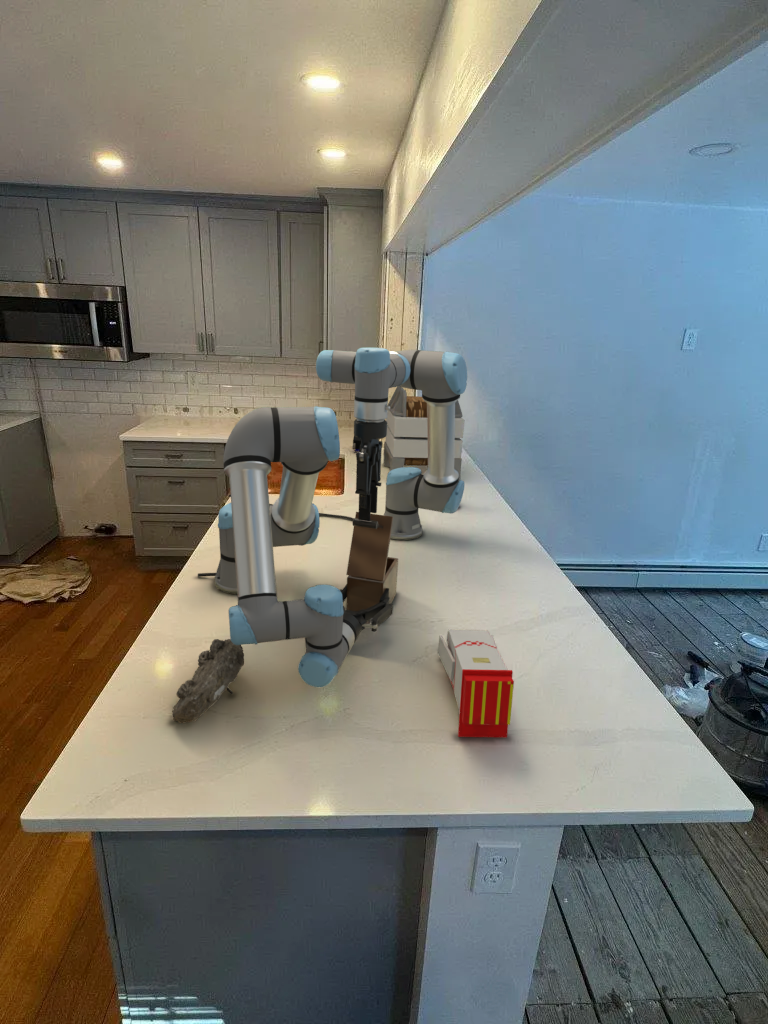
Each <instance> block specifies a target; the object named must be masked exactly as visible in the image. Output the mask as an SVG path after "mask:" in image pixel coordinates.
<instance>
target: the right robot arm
mask: <svg viewBox="0 0 768 1024" xmlns="http://www.w3.org/2000/svg"><path fill="white" fill-rule="evenodd" d="M315 371H316V375H317V377H318V378H319V379H320V380H321V381H322V382H328V383H335V384H336V383H337V384H349V385H354V399H353V400H354V401H353V417H354V421H353V436H354V435H355V436H356V437H358V438H360V439H361V440H362V441H361V445H360V447H359V451H356V453H355V458H356V476H355V491H354V493H355V494H356V495H358V512H359V516H358V520H365V521H370V515H371V514H377V512H378V492H379V491H378V488H379V487H381V486H382V482H381V473H382V472H381V471H382V449H383V445H384V442H383V441H382V440H381V439H385V438H386V435H387V422H386V418H387V410H390V406H387V405H388V403H389V390H390V389H392V388H397V386H399V387H402V388H403V389H409V390H414V391H421V397H422V399H423V400H424V401H425V402H426V403H427V435H428V466H427V469H426V470H424V473H423V474H422V470H421V468H419V467H416V466H404V467H403V468H397V469H393V470H391V471H390V470H389V471H388V473H387V475H386V482H385V504H384V505H385V507H384V508H385V509H384V513H383V515H385V516H392V517H393V524H392V531H391V538H390V540H395V541H410V540H415V539H418V538H420V537H421V536H422V535H423V525H422V524H421V518H420V515H419V509H420V510H427V511H433V512H438V513H441V514H451V515H452V514H455V513H456V512H457V511H458V509H459V508H460V504H461V502H462V499H463V496H464V493H465V492H464V491H465V481H464V480H462V479H460V480H459V474H458V472H457V471H456V470H455V469H454V445H455V402H456V401H457V400H458V401H459V399H460V398H461V395H462V394H464V393H465V391H466V390H467V389H466V388H467V386H468V385H467V381H468V367H467V363H466V360H465V358H464V356H463V355H461V354H460V353H459V352H458V353H456V352H451V351H440V350H439V351H438V350H425V349H424V350H422V349H404V350H393V351H392V350H388V349H387V348H384V347H359V348H358V349H356V351H349V350H348V351H345V350H335V349H328V350H327V349H324V350H322V351H320V352H319V354H318V355H317V358H316V362H315ZM228 497H229V498H231V493H229V495H228ZM273 504H274V503H273ZM273 504H272V503H269V505H273ZM320 516H322V517H330V518H337V519H343V520H345V519H346V520H350V521H353V519H354V518H355V517H352V516H347V515H339V514H331V513H323V512H319V517H320Z"/></svg>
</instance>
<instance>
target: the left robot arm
mask: <svg viewBox="0 0 768 1024" xmlns="http://www.w3.org/2000/svg"><path fill="white" fill-rule="evenodd" d="M339 432H340V431H339V424H338V419H337V415H336V412H335V411H334V410H333V409H332V408H331V407H326V406H325V407H324V406H317V405H315V406H283V407H282V406H281V407H279V406H274V407H270V406H263V407H258V408H255V409H253V410H251V411H249V412H247V413H246V414H245V415H243V416H242V417H241V418H240V419H239V420H238V421H237V422H236V424H235V425H234V426H233V428H232V430H231V432H230V434H229V435H228V437H227V441H226V443H225V446H224V451H223V461H222V462H223V473H224V474H225V476H226V477H228V478H229V490H230V494H231V497H230V501H231V502H229V503H227V504H225V505H223V506H222V507H221V508H220V509H219V511H218V517H217V518H218V521H217V528H218V535H219V554H220V556H219V557H220V559H219V562H218V565H217V568H216V572H202V573H201V572H200V573H197V577H198V578H199V577H200V578H201V577H202V578H203V577H214V585H215V588H217V589H218V591H221V592H224V593H227V594H233V595H237V604H235V605H233V606H231V607H229V608H228V625H229V639H231V641H232V643H233V644H235V645H241V646H242V645H243V646H244V645H258V644H264V643H272V642H278V641H288V640H296V639H304V641H305V643H304V644H305V647H304V648H305V651H304V654H303V655H302V656H301V658H300V660H299V663H298V666H297V671H298V674H299V677H300V679H301V680H302V681H303V682H304V683H305V684H307V685H308V686H310V687H314V688H324V687H326V686H328V685H330V684H331V683H332V681H333V680H334V678H335V677H336V676H338V674H339V671H340V669H341V668H342V665H343V664H344V662H345V660H346V658H347V656H348V655H349V653H350V652H351V650H352V648H353V646H354V644H355V643H356V641H357V640H358V638H359V636H360V634H361V633H362V631H363V630H364V629H365V628H366V629H367V628H368V629H371V632H377V630H378V628H379V627H380V626H381V625H382V624H383V623H384V622H385V621H386V620H388V619H389V618H390V617H391V616H392V615H393V610H394V604H393V603H391V604H389V601H390V598H389V588H386V590H385V591H384V593H383V595H382V596H381V598H380V600H379V603H378V604H376V605H374V606H372V607H369V608H367V609H365V610H364V609H361V610H359V611H351V610H346V607H345V605H344V602H345V600H347V583H346V584H345V586H344V587H343V588H342V589H339V588H337V586H334V585H330V584H316V585H314V586H310V587H308V589H306V591H305V592H304V597H303V598H300V599H291V600H281V601H280V600H279V601H278V593H277V592H278V591H277V581H276V567H275V555H274V554H275V553H274V548H277V547H278V548H279V547H292V546H301V547H302V546H305V545H312V544H314V543H315V542H316V540H317V539H318V537H319V532H320V530H319V529H320V521H321V520H320V515H319V513H320V511H319V508H318V506H317V505H316V504H315V503H313V502H314V501H313V500H314V496H315V492H316V487H317V484H318V478H319V474H320V473H321V472H322V471H324V469H325V468H326V467H327V465H328V463H329V462H333V461H338V460H339V458H340V456H341V443H340V442H341V441H340V434H339ZM272 463H280V464H281V465H282V471H281V472H282V473H281V480H280V488H279V496H278V498H276V500H275V501H274V502H273V505H269V504H270V496H269V494H270V493H269V482H268V476H269V474H270V473H271V472H272Z"/></svg>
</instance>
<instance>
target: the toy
mask: <svg viewBox="0 0 768 1024" xmlns="http://www.w3.org/2000/svg"><path fill="white" fill-rule="evenodd" d="M446 640H447V643H446V641H445V639H444V636H443V635H442V634H439V637H438V646H437V656H438V657H439V659H440V661H441V663H442V666H443V668H444V670H445V672H446V674H447V677H448V679H449V681H450V684H451V687H452V690H453V693H454V697H455V701H456V705H457V708H458V711H459V714H458V715H459V716H458V730H457V731H458V732H457V737H458V738H508V731H509V726H510V725H511V717H512V707H513V697H514V696H513V695H514V684H515V680H514V679H513V673H514V671H513V670H512V669H508V667H507V665H506V662H505V661H504V659H503V658H502V655H501V653H500V651H499V649H498V647H497V643H496V639H495V637H494V635H493V634H491V632H490V631H489V629H467V628H466V629H465V628H463V629H461V628H460V629H459V628H448V630H447V639H446Z"/></svg>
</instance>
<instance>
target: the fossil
mask: <svg viewBox="0 0 768 1024" xmlns="http://www.w3.org/2000/svg"><path fill="white" fill-rule="evenodd" d="M197 665H198V667H197V668H196V670H195V671H194V673H193V675H192V678H191V679H187V680H186V681H185V682H184V683H182V684H181V685H180V686H179V687H178V689H177V691H176V693H175V694H176V696H177V698H179V699H178V700H177V702H176V704H174V705H173V706H172V711H171V713H172V714H171V715H172V720H173V722H178V724H186V723H190V722H195V721H197V720H198V719H199V718H201V716H202V715H203V714H205V713H206V712H207V711H208V710H209V709H210V708H211V707H212V706H213V705H215V703H217V702H218V701H219V699H220V698H221V696H222V694H223V693H226V691H227V692H228V693H229V694H230V695H233V694H234V692H233V691H232V689H230V688H229V686H230V684H231V683H234V682H235V680H236V679H237V678H238V675H239V673H240V671H241V669H242V667H243V666H245V653H244V648H243V646H242V645H235V644H233V643H232V641H231V639H230V638H226V639H225V640H223V639H219V638H214V639H213V640H212V641H211V644H210V646H209V650H204V651H201V653H199V655H198V659H197Z"/></svg>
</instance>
